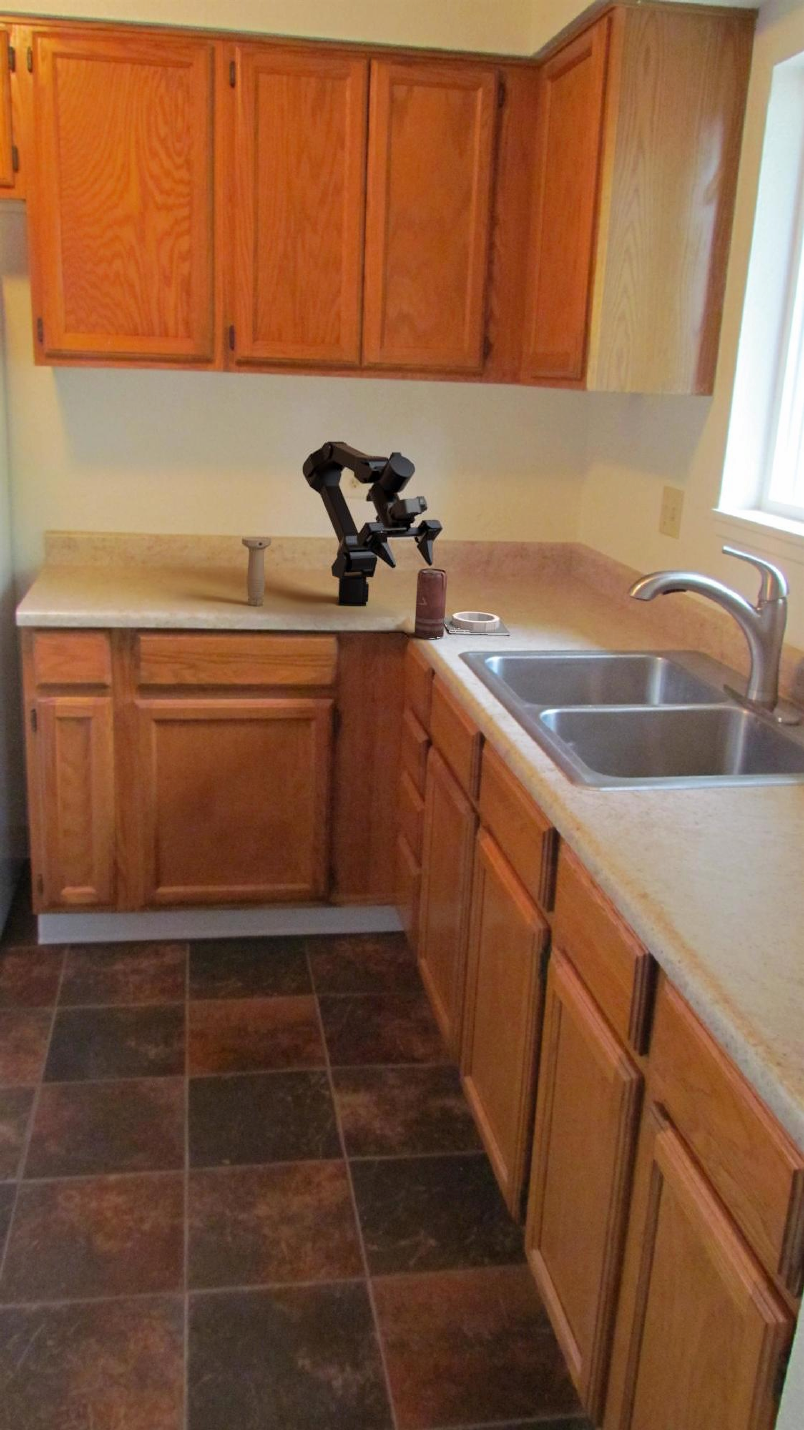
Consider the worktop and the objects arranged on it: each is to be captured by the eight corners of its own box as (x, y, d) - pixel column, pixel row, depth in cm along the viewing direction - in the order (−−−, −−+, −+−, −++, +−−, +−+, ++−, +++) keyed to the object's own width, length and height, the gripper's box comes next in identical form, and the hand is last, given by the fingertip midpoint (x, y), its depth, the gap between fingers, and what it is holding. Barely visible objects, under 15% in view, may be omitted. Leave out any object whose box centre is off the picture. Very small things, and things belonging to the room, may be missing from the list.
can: (435, 641, 249) (439, 574, 245) (408, 636, 252) (412, 570, 248) (449, 636, 254) (454, 570, 250) (423, 631, 257) (427, 566, 253)
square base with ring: (449, 634, 256) (449, 623, 255) (442, 619, 268) (442, 609, 268) (509, 635, 257) (510, 624, 257) (499, 621, 270) (500, 611, 269)
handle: (272, 606, 273) (274, 540, 268) (245, 607, 270) (246, 541, 265) (265, 601, 277) (266, 536, 272) (238, 603, 274) (239, 537, 269)
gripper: (365, 483, 250) (390, 545, 244) (440, 482, 260) (466, 541, 254) (345, 516, 259) (369, 576, 253) (418, 513, 268) (443, 571, 263)
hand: (412, 566), depth 256 cm, fingers open, 9 cm apart
